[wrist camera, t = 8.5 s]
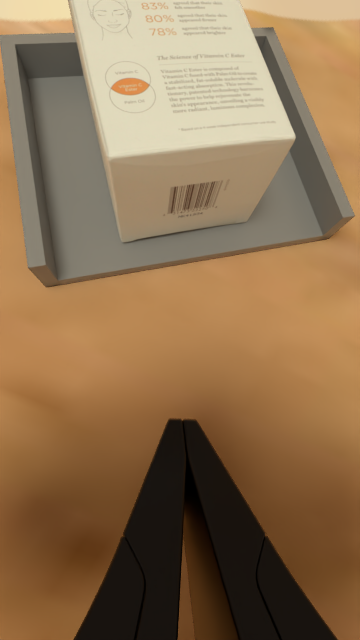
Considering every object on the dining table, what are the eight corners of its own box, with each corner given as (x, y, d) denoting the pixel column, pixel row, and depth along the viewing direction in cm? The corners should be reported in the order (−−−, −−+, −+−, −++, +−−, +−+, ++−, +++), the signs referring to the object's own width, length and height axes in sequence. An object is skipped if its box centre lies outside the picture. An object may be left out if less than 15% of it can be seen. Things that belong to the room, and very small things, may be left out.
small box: (247, 225, 18) (196, 69, 21) (301, 137, 12) (217, -68, 14) (118, 245, 16) (82, 75, 19) (102, 158, 10) (52, -73, 13)
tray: (328, 238, 19) (354, 215, 16) (46, 287, 16) (28, 267, 13) (259, 67, 22) (273, 27, 20) (17, 80, 19) (-1, 35, 17)
